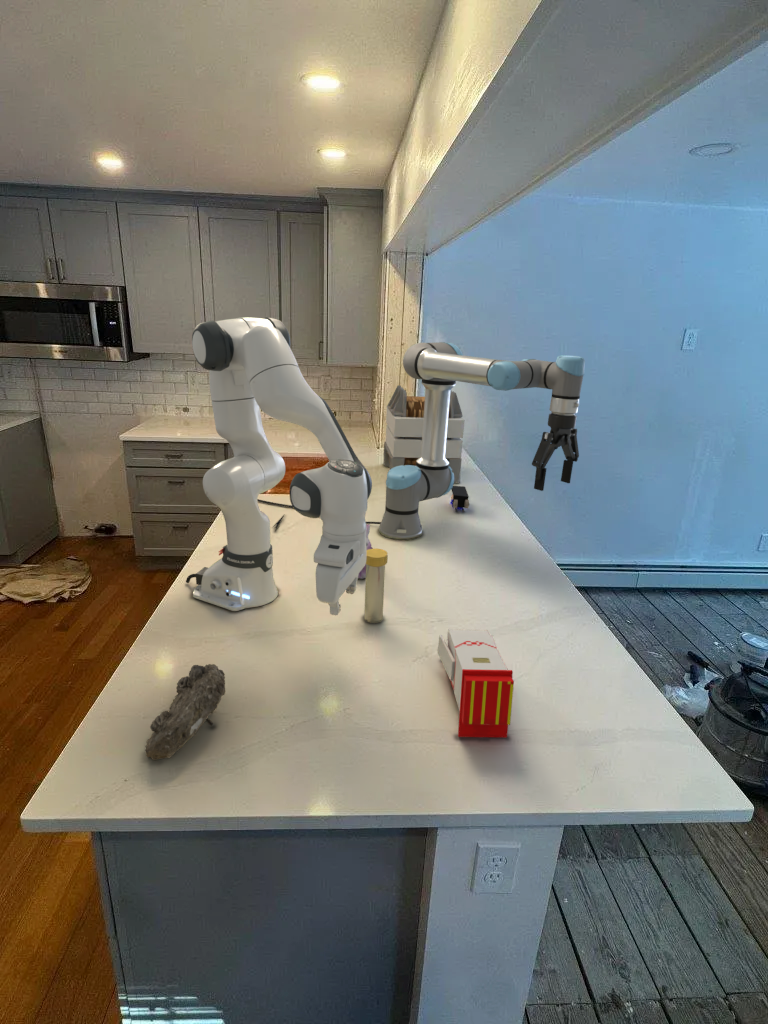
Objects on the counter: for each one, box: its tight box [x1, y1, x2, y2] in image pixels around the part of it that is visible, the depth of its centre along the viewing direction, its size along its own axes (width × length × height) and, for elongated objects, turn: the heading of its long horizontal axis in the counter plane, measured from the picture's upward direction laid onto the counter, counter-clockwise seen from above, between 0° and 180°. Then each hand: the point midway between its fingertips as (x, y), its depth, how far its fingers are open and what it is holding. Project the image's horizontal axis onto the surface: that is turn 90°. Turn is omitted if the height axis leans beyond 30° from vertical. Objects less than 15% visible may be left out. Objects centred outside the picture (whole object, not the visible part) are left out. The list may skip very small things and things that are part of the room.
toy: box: [437, 628, 515, 738], centre depth 117 cm, size 12×13×30 cm
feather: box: [270, 514, 286, 532], centre depth 209 cm, size 2×28×2 cm
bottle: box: [363, 564, 386, 624], centre depth 142 cm, size 5×5×18 cm
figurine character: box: [450, 485, 470, 513], centre depth 227 cm, size 7×8×15 cm
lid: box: [366, 547, 389, 567], centre depth 139 cm, size 6×6×2 cm
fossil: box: [144, 663, 226, 761], centre depth 105 cm, size 22×10×15 cm
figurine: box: [358, 524, 374, 580], centre depth 167 cm, size 9×10×15 cm
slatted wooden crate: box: [383, 384, 465, 484], centre depth 268 cm, size 34×33×41 cm
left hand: (343, 602), depth 118 cm, fingers open, 8 cm apart
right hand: (552, 485), depth 166 cm, fingers open, 13 cm apart
